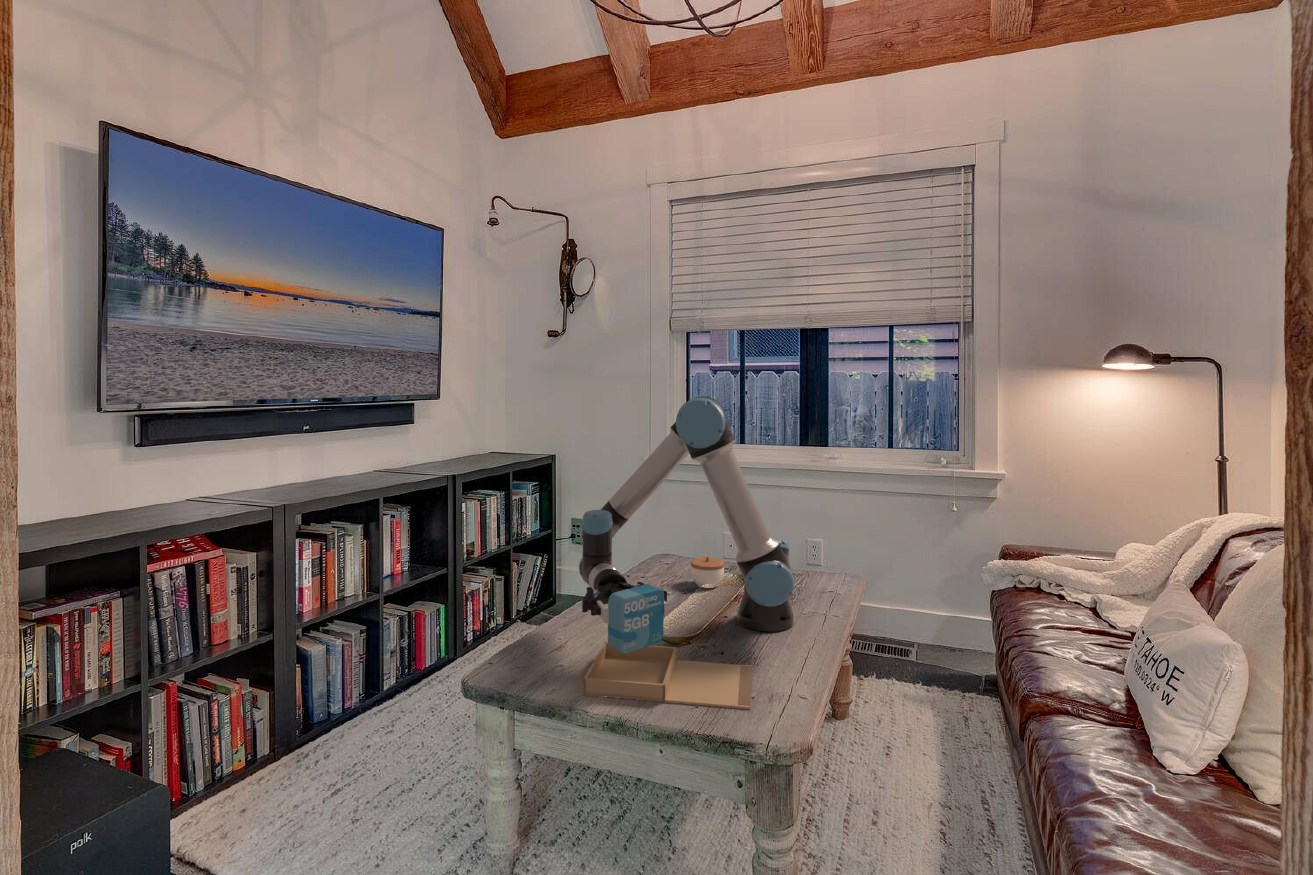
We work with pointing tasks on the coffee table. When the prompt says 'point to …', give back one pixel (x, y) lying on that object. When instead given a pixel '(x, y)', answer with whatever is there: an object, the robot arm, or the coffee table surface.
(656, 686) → the mailer box
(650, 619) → the data package
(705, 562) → the lidded jar
